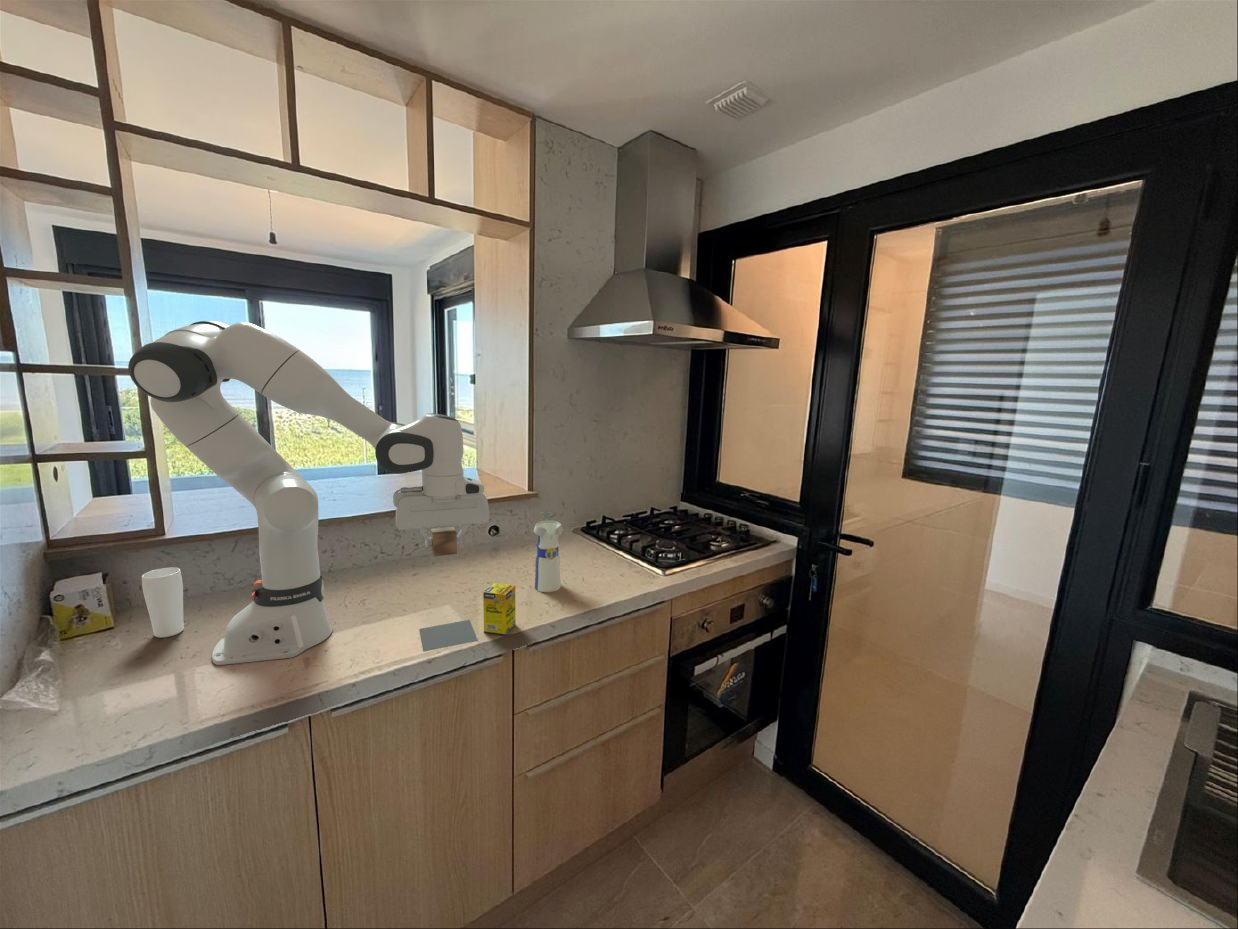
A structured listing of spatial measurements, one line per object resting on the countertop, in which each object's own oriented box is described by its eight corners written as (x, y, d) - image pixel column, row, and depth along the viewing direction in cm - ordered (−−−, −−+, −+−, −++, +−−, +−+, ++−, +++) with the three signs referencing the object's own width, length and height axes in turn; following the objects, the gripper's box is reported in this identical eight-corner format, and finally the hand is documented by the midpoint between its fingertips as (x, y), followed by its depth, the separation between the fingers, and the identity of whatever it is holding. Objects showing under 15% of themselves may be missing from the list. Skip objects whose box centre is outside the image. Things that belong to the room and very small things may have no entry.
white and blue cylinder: (566, 589, 147) (567, 507, 142) (538, 594, 143) (538, 510, 139) (557, 579, 154) (558, 501, 150) (530, 583, 150) (530, 503, 146)
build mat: (423, 653, 111) (423, 651, 111) (419, 630, 121) (419, 628, 121) (477, 641, 117) (477, 640, 117) (469, 621, 126) (469, 619, 126)
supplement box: (506, 637, 119) (505, 594, 117) (483, 634, 120) (482, 591, 118) (516, 625, 125) (516, 584, 123) (494, 623, 126) (493, 582, 124)
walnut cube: (433, 556, 112) (433, 535, 111) (431, 549, 116) (431, 528, 115) (456, 553, 114) (456, 532, 113) (453, 547, 118) (453, 526, 118)
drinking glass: (157, 628, 119) (149, 569, 116) (193, 624, 121) (185, 565, 119) (144, 642, 112) (134, 580, 110) (181, 637, 115) (173, 576, 113)
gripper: (393, 490, 105) (395, 553, 107) (491, 485, 114) (490, 543, 117) (392, 485, 111) (394, 544, 113) (485, 480, 120) (485, 536, 122)
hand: (444, 544), depth 115 cm, fingers closed on walnut cube, 5 cm apart
